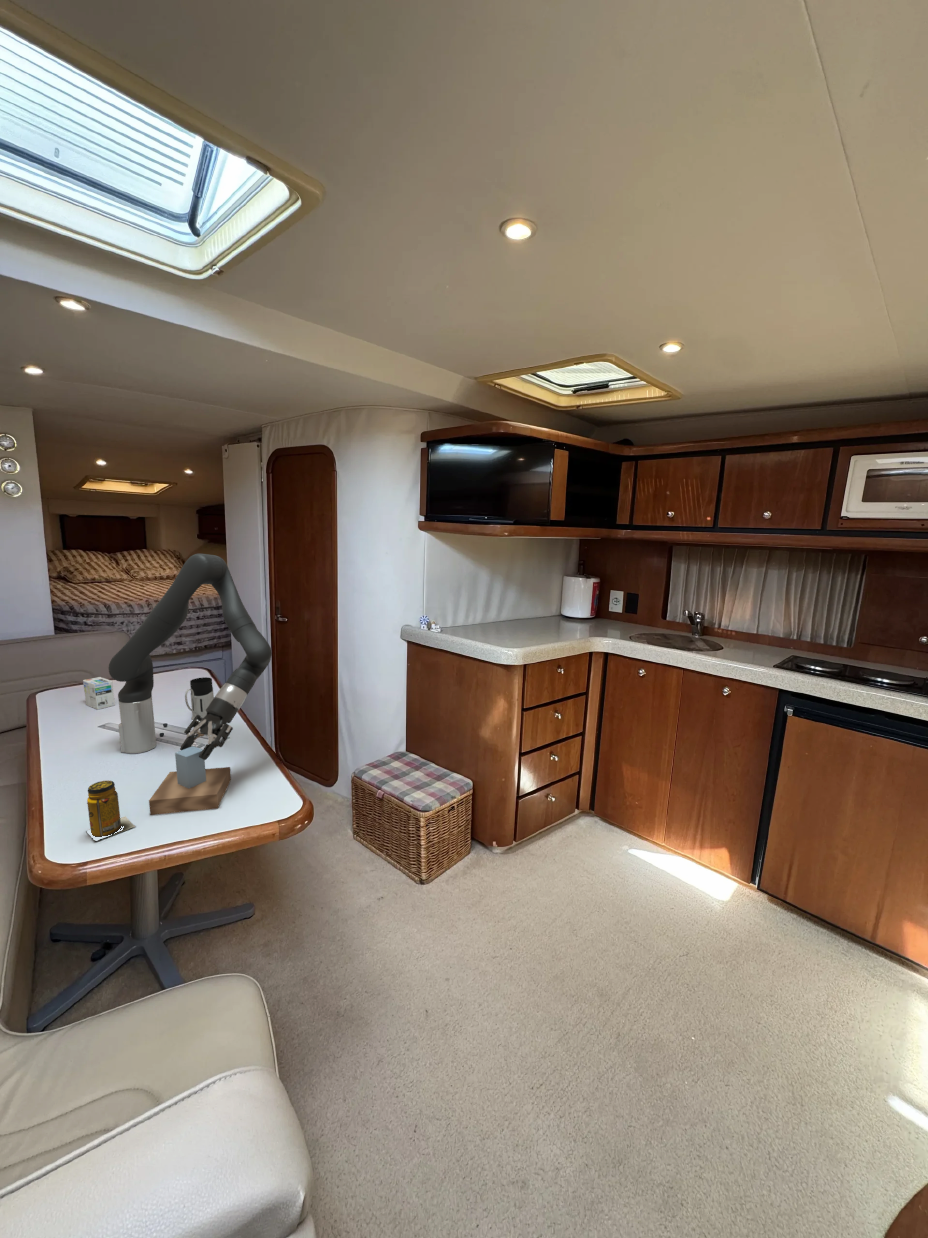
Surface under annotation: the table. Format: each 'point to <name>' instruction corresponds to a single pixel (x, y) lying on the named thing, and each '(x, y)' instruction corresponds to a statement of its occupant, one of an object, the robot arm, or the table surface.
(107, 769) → the table surface
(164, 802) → the walnut plinth
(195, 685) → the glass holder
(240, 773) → the table surface
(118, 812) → the condiment
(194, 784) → the slate block
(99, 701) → the light bulb box
